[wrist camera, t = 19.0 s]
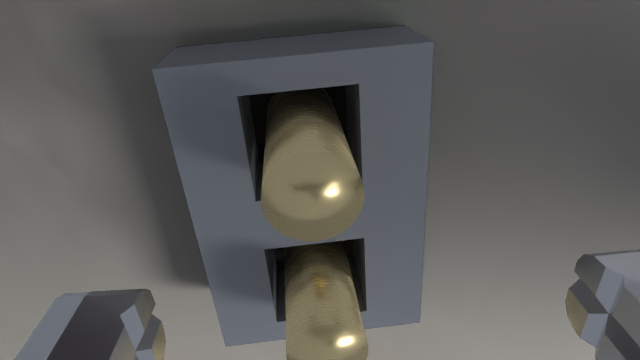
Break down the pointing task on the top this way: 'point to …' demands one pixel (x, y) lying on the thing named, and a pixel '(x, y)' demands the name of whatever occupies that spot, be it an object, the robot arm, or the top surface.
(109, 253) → the top surface
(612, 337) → the robot arm
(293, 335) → the pin
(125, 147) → the top surface
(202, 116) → the block
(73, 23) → the top surface
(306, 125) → the pin
